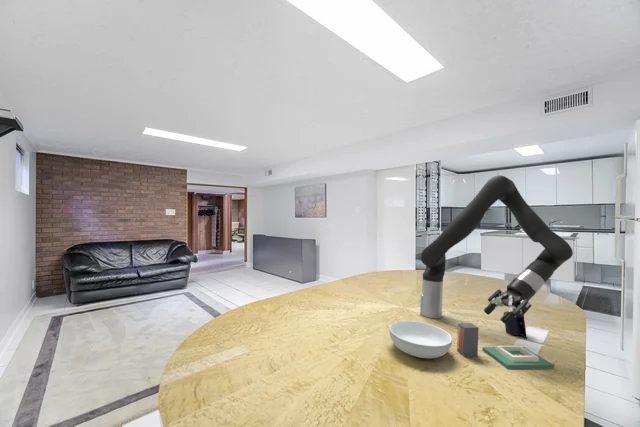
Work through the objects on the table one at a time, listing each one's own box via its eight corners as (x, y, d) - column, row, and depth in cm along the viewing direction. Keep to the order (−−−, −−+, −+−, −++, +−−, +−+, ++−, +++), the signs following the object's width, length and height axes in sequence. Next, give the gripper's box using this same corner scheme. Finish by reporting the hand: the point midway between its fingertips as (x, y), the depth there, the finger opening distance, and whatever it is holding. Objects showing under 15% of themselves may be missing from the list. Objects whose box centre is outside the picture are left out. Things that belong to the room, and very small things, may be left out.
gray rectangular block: (463, 356, 96) (464, 327, 96) (456, 351, 100) (457, 323, 100) (477, 356, 96) (478, 327, 96) (470, 351, 100) (471, 323, 100)
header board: (507, 368, 89) (507, 360, 89) (482, 350, 101) (482, 342, 101) (553, 368, 90) (554, 360, 90) (524, 350, 102) (524, 342, 102)
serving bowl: (425, 374, 85) (425, 351, 85) (376, 345, 102) (377, 326, 102) (464, 357, 96) (465, 337, 96) (414, 334, 113) (415, 317, 113)
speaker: (527, 334, 116) (525, 309, 117) (527, 339, 112) (524, 313, 112) (506, 330, 121) (503, 306, 122) (504, 335, 117) (502, 310, 117)
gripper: (504, 273, 107) (474, 303, 106) (535, 282, 92) (501, 317, 92) (516, 287, 107) (487, 317, 106) (550, 298, 93) (516, 333, 92)
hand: (493, 317), depth 99 cm, fingers open, 8 cm apart
